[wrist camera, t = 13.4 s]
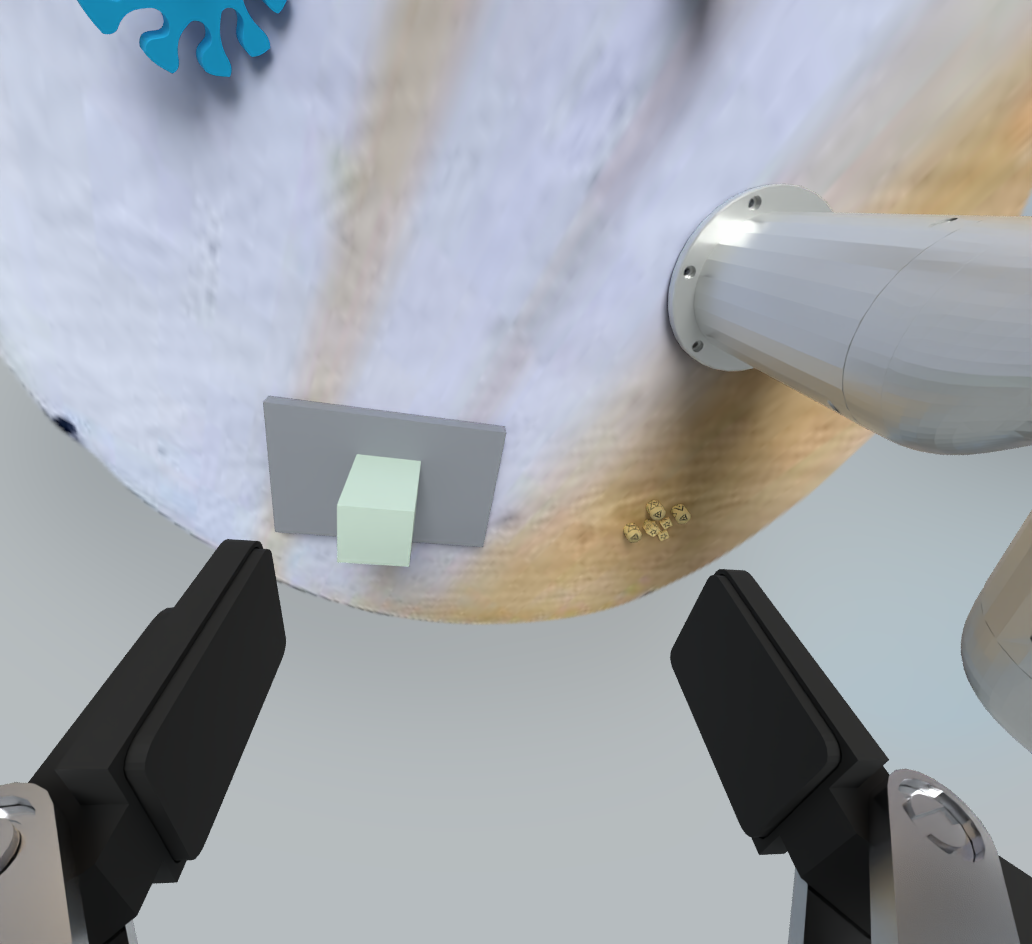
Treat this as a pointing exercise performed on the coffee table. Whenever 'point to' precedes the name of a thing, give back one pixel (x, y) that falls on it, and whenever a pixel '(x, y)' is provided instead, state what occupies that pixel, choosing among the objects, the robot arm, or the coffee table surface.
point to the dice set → (649, 525)
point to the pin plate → (351, 430)
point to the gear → (179, 7)
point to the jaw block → (378, 511)
